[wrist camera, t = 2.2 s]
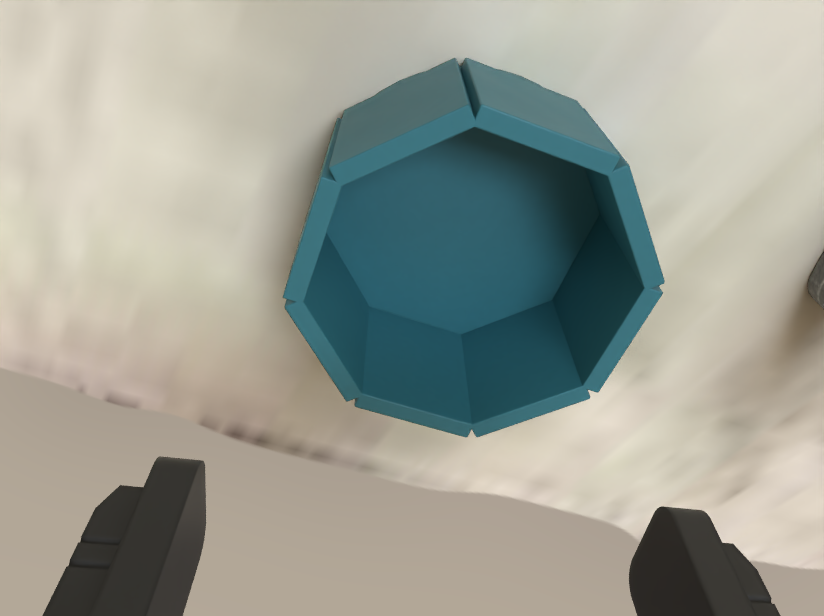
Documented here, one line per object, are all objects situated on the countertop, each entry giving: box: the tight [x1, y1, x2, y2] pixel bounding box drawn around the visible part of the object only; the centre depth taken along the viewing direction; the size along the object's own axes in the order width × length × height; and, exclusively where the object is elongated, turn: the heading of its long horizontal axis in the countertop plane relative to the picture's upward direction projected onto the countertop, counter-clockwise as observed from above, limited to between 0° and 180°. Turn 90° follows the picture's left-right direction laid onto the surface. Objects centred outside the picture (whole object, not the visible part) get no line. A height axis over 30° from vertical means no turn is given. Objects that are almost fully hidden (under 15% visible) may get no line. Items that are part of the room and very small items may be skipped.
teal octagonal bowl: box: [283, 58, 665, 437], centre depth 29 cm, size 14×14×8 cm
